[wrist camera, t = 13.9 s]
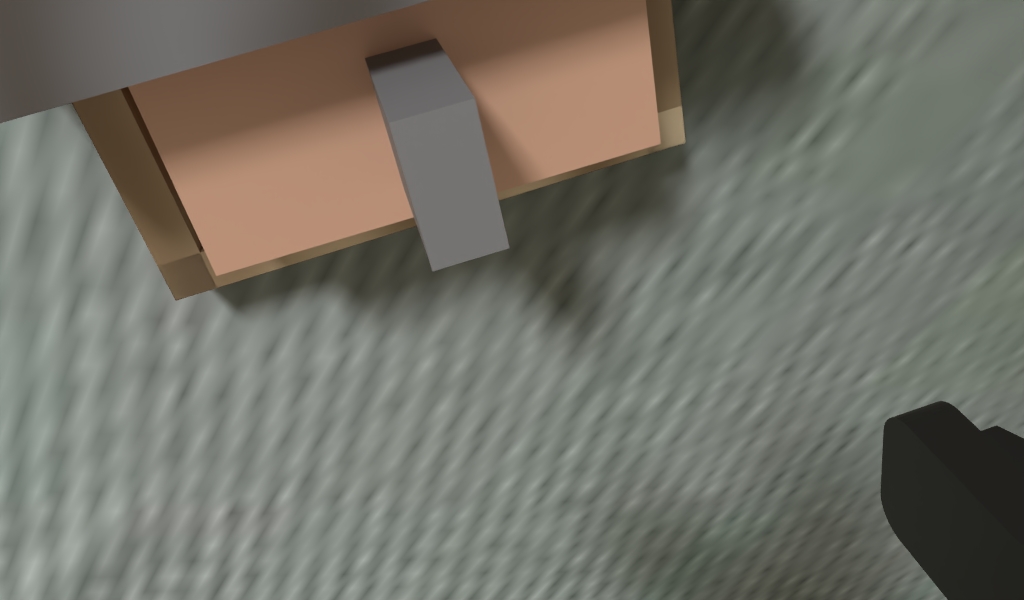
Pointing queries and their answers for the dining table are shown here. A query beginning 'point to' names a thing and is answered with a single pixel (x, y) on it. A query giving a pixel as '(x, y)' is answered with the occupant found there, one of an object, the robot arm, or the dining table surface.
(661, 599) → the dining table surface
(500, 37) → the tan box with handle
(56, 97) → the brown grey open box
